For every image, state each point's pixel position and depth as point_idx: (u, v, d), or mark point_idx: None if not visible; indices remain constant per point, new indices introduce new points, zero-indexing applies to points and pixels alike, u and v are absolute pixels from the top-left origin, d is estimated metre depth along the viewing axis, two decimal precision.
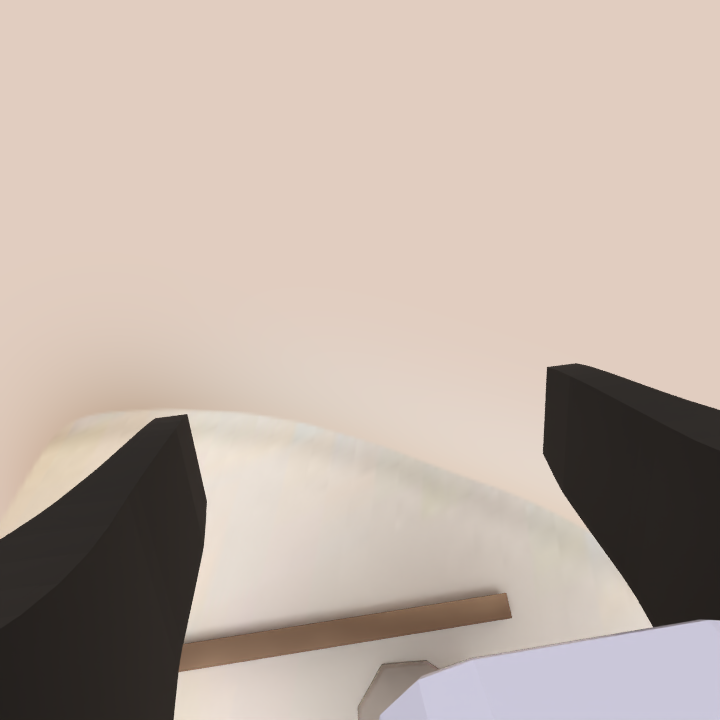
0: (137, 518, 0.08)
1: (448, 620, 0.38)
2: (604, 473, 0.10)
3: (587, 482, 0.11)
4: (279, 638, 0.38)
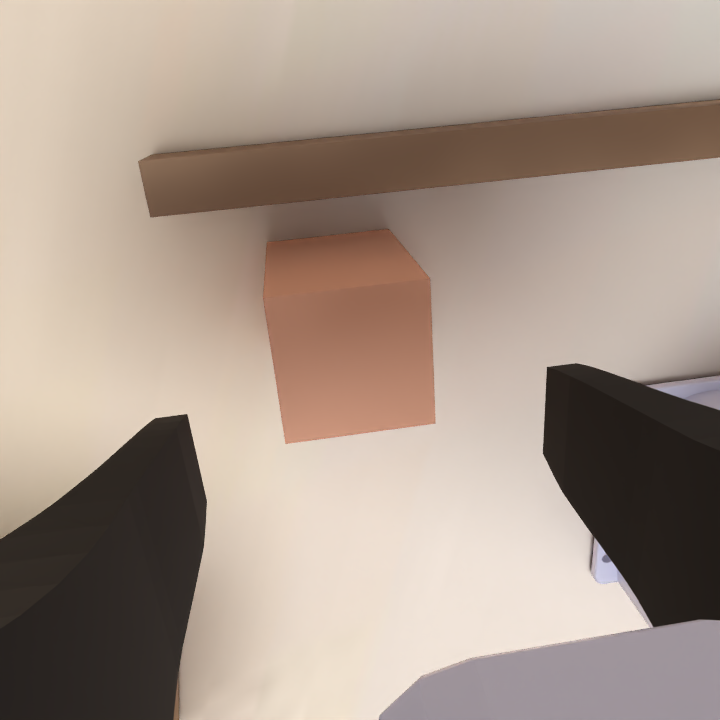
0: (137, 518, 0.08)
1: None
2: (604, 473, 0.10)
3: (587, 482, 0.11)
4: None
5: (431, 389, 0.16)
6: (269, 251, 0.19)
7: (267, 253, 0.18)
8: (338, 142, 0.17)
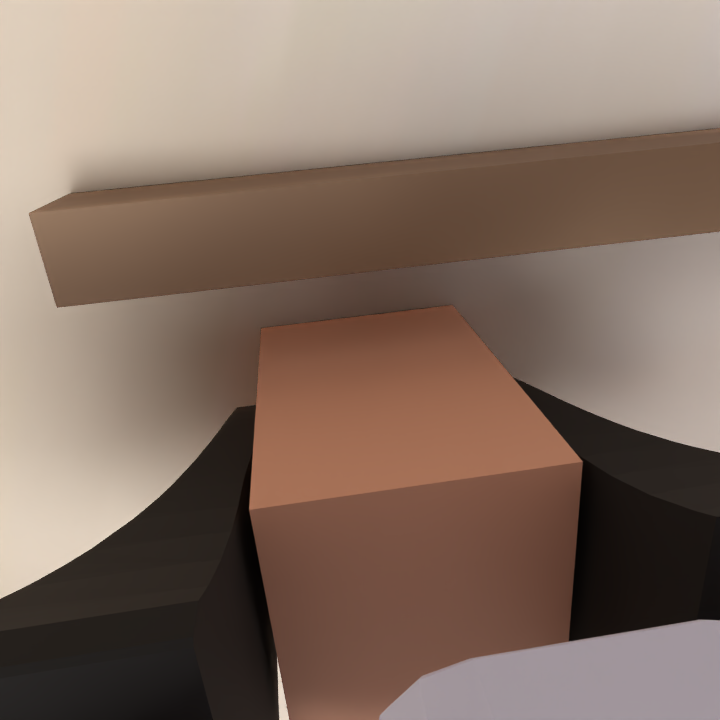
0: (249, 502, 0.08)
1: None
2: None
3: None
4: None
5: (563, 641, 0.09)
6: (264, 352, 0.11)
7: (261, 357, 0.11)
8: (385, 178, 0.10)
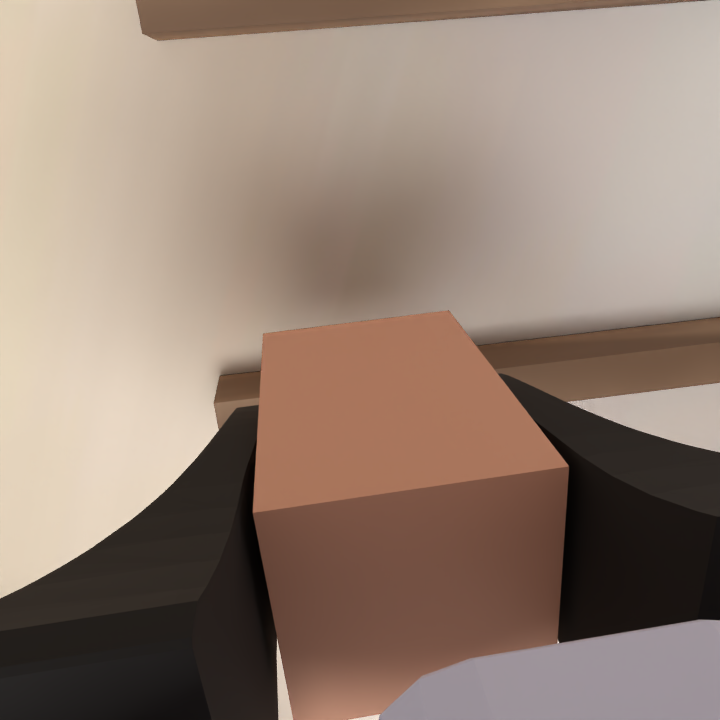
0: (248, 502, 0.08)
1: None
2: None
3: None
4: None
5: (552, 635, 0.09)
6: (266, 358, 0.12)
7: (263, 363, 0.11)
8: None
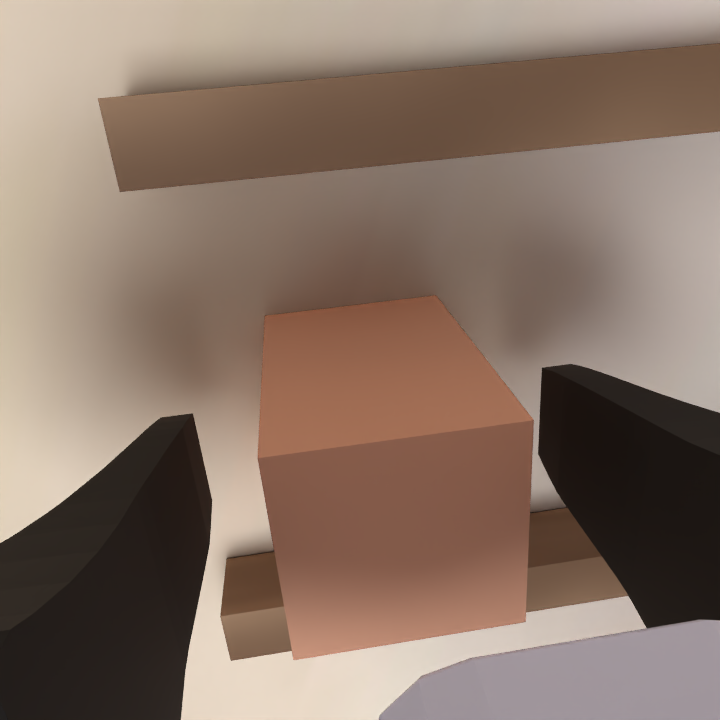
0: (145, 517, 0.08)
1: None
2: (598, 474, 0.10)
3: (581, 483, 0.11)
4: None
5: (522, 576, 0.10)
6: (268, 336, 0.13)
7: (265, 340, 0.13)
8: None
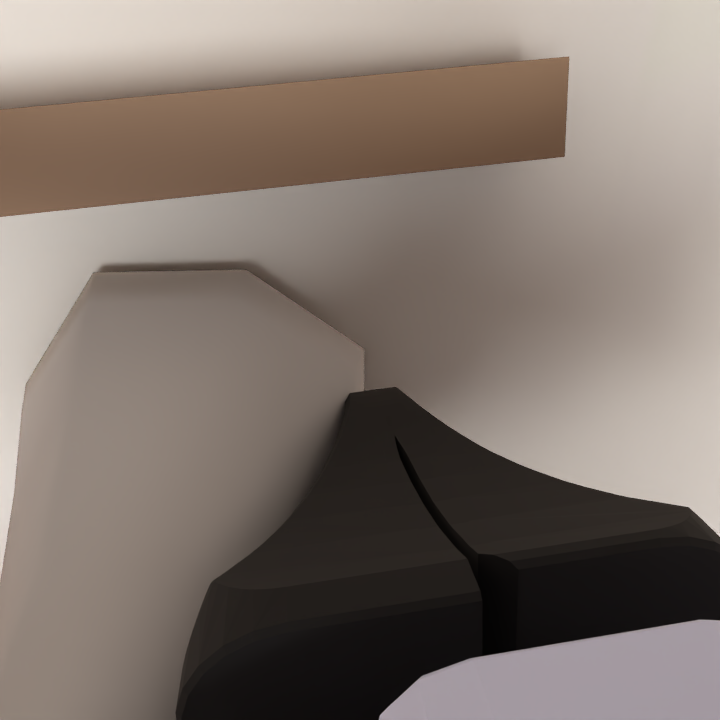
0: None
1: (321, 155, 0.10)
2: None
3: None
4: None
5: None
6: None
7: None
8: None
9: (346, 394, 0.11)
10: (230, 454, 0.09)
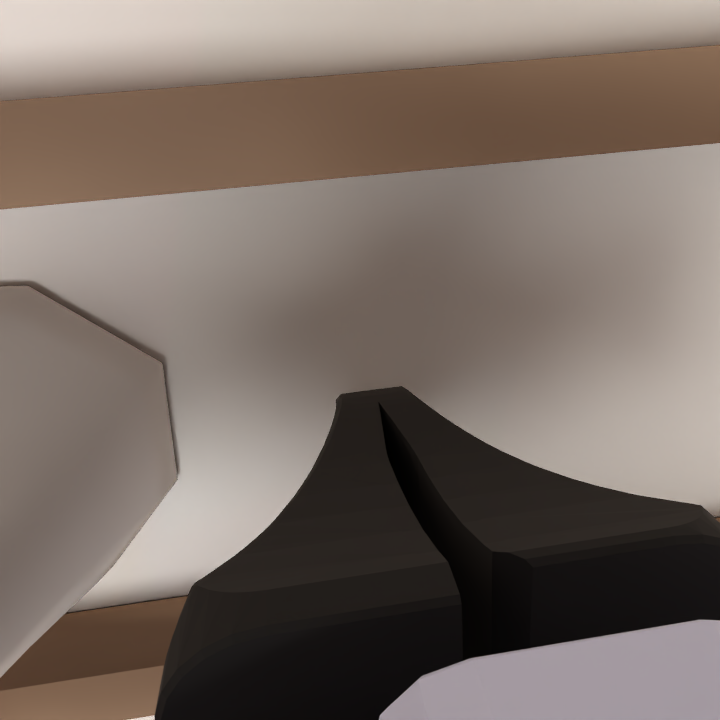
0: None
1: None
2: None
3: None
4: (84, 137, 0.09)
5: None
6: None
7: None
8: None
9: (127, 410, 0.11)
10: None
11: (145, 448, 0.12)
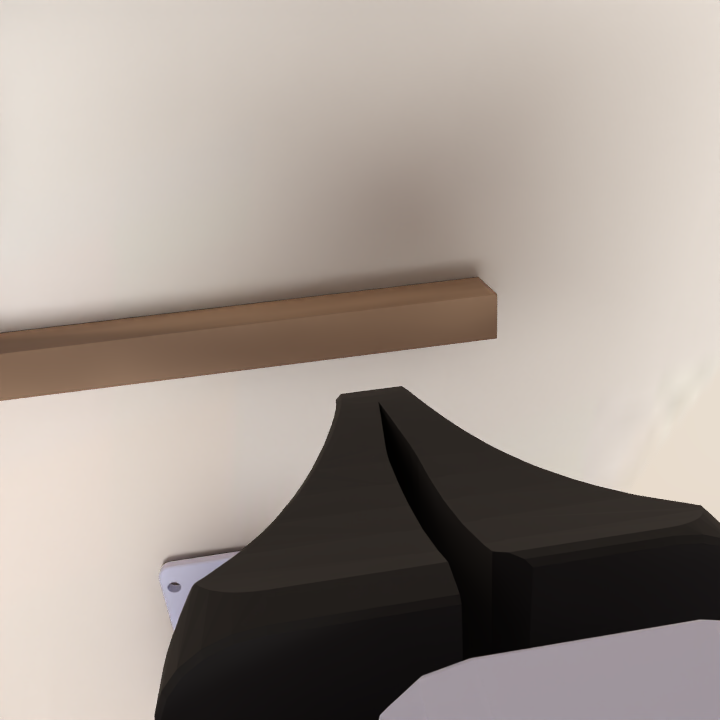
0: None
1: None
2: None
3: None
4: None
5: None
6: None
7: None
8: None
9: None
10: None
11: None
